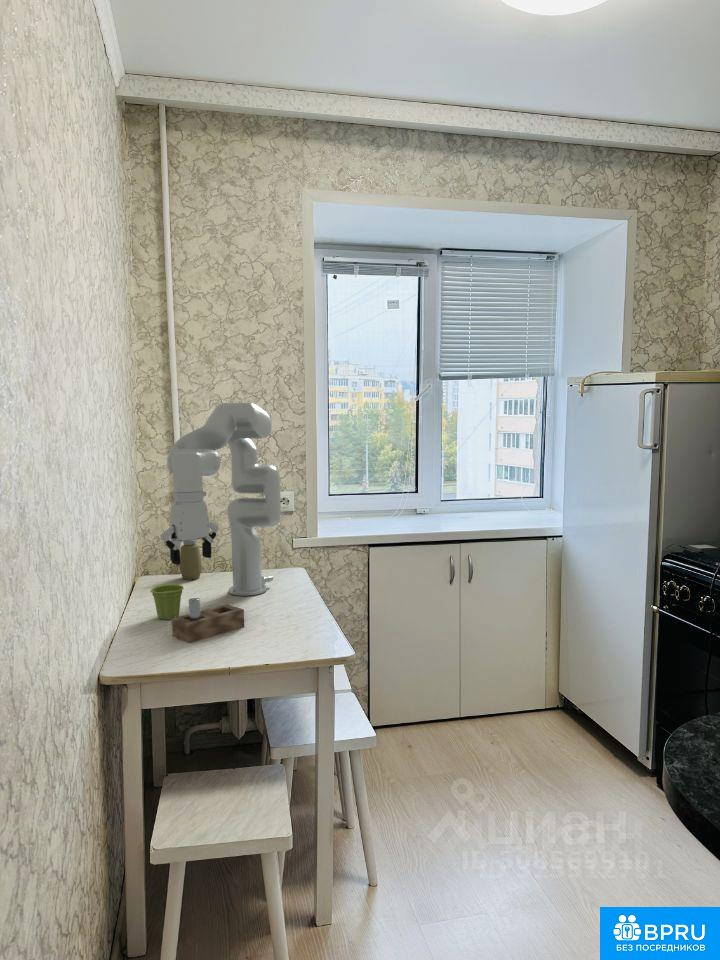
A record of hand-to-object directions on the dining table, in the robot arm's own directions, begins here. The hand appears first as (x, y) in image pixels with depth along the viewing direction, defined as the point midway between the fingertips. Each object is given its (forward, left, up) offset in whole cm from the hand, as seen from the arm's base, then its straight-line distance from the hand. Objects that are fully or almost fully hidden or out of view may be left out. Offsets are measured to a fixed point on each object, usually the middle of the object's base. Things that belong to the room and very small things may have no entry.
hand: (191, 560), depth 185 cm
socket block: (-4, +1, -21) cm, 21 cm away
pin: (0, +1, -21) cm, 21 cm away
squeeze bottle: (-35, -56, -21) cm, 69 cm away
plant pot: (-4, -20, -21) cm, 29 cm away
